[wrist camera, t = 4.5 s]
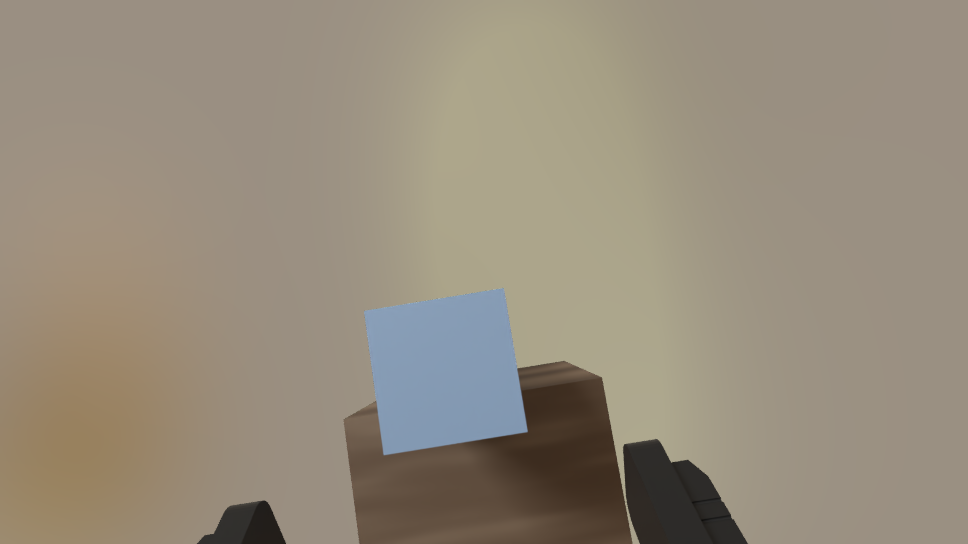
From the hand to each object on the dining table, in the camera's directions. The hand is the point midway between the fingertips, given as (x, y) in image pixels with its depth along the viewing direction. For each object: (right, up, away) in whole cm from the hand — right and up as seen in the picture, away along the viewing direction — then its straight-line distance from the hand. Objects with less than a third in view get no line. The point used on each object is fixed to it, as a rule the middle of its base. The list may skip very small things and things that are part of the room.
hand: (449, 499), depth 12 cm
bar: (0, -1, +15) cm, 15 cm away
